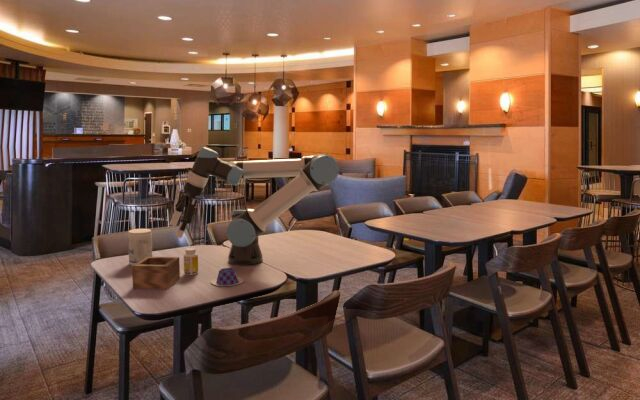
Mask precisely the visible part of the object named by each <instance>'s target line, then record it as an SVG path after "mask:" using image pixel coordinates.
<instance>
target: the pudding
mask: <svg viewBox="0 0 640 400" xmlns="http://www.w3.org/2000/svg"><path fill="white" fill-rule="evenodd" d="M210 282H211V284H212V285H214V286H218V287H230V286H236V285H240V284H241V283H243V282H244V279H243V278H242V277H239V276H237V273H236V270H235V268H232V267H225V268H221V269H219V271H218V274H217V277H216V278H214V279H212V280H211V281H210ZM238 282H239V283H238Z"/></svg>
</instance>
